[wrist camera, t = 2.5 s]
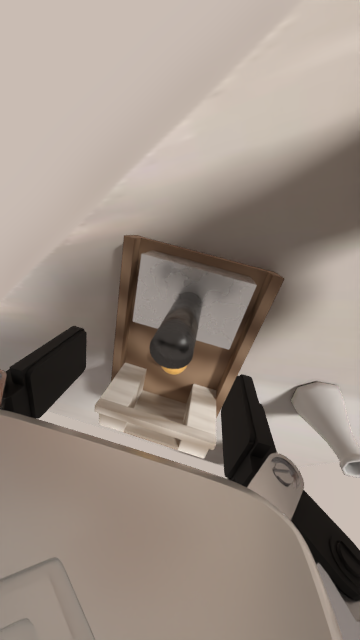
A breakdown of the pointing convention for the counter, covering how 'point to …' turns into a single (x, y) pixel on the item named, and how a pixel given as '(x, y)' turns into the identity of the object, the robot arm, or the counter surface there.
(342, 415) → the flask
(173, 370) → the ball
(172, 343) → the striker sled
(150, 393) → the wooden tray
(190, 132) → the counter surface
